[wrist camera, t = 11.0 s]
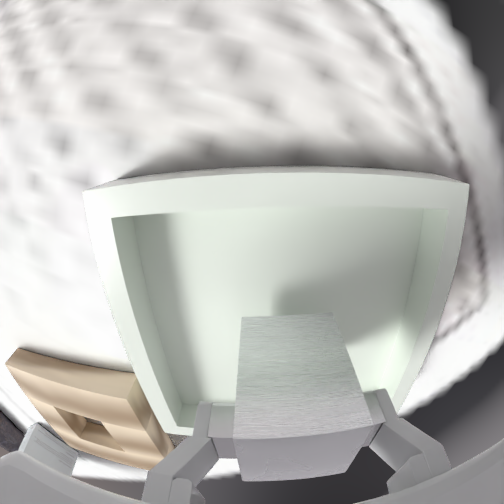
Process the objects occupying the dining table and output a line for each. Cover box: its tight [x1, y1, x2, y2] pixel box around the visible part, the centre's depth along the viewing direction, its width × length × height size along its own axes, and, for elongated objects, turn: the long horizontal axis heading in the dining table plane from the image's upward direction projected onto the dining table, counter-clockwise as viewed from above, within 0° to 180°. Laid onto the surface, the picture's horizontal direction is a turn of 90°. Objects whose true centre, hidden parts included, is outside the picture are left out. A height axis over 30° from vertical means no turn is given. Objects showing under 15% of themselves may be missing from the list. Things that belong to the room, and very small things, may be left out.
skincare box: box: [18, 423, 79, 477], centre depth 19 cm, size 8×6×15 cm
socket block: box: [5, 348, 175, 470], centre depth 19 cm, size 14×14×2 cm
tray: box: [83, 166, 469, 436], centre depth 13 cm, size 16×16×3 cm
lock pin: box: [233, 313, 374, 481], centre depth 10 cm, size 4×4×6 cm
